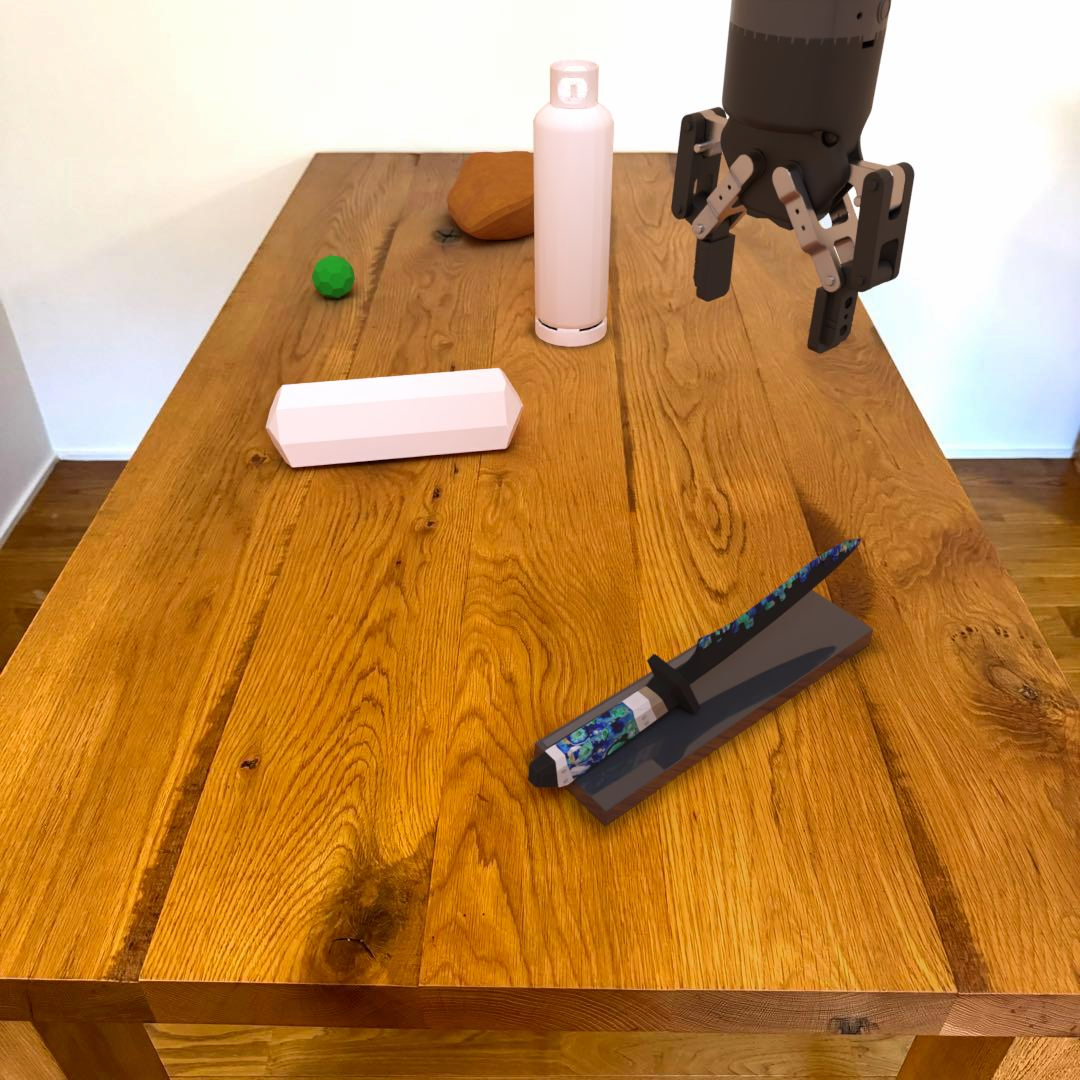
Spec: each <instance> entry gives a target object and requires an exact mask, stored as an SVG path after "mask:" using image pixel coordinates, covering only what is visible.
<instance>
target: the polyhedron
mask: <svg viewBox="0 0 1080 1080" xmlns="http://www.w3.org/2000/svg"><path fill="white" fill-rule="evenodd" d="M311 279H312V283H313V286H314V288H315V290H316V291H317V292H318V293H319V294H321V295H322V296H323V297H326V298H329V299H336V300H337V299H340V298H342V297H344V296H345V295H347V294H348V293H350V292H351V291H352V288H353V286H354V283H355V280H356V276H355V271H354V268H353V266H352V264H351V263H350V262H349V261H348V260H347V259H346V258H344V257H342V256H339V255H331V254H329V255H327V256H324V257H323V258H321V259H319V260H318V261H317V262H316V263H315V266H314V268H313V271H312V274H311Z"/></svg>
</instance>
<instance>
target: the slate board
mask: <svg viewBox="0 0 1080 1080" xmlns="http://www.w3.org/2000/svg"><path fill="white" fill-rule="evenodd" d="M873 633H874V628H873V627H871V626H869V624H867V623H865V622H863V621H862V620H860V619H859V618H857V617H855V616H854V615H852V614H851V613H849V612H847V611H846V610H845V609H843V608H842V607H840V606H838V605H836V604H835V603H834V602H832V601H831V600H829V599H828V598H826V597H824V596H823V595H821V594H819V593H818V592H817V591H815V590H813V589H812V590H811V591H810V592H809V593H808V594H806V595H805V596H804V597H803V598H802V599H801V600H799V601H798V602H797V603H796V604H795V605H793V606H792V607H791V608H790V609H789V610H787V611H786V612H785V613H784V614H782V615H781V616H780V617H779V618H778V619H776V620H775V621H774V622H773V623H771V624H770V625H769V626H768V627H766V628H765V629H764V630H762V631H761V632H760V633H759V634H757V635H756V636H755V637H753V638H752V639H751V640H749V641H748V642H747V643H746V644H744V645H743V646H742V647H740V648H739V649H738V650H737V651H735V652H734V653H733V654H731V655H730V656H729V657H728V658H726V659H725V660H724V661H722V662H721V663H719V664H718V665H717V666H715V667H714V668H713V669H711V670H710V671H708V672H707V673H706V674H704V675H703V676H701V677H700V678H699V679H697V680H696V681H695V682H693V683H692V684H690V687H691V689H692V691H693V693H694V695H695V697H696V699H697V701H698V703H699V705H700V707H701V708H700V709H699V710H698V711H697V713H696V714H693V713H692V712H690V711H689V710H687V709H686V708H684V707H682V706H681V705H679V704H678V705H677V706H675V707H674V708H672V709H671V710H669V711H668V712H666V713H665V714H664V715H662V716H661V717H659V718H658V719H657V720H655V721H654V722H653V723H651V724H650V725H649V726H647V727H646V728H644V729H643V730H642V731H640V732H639V733H638V734H636V735H635V736H634V737H632V738H631V739H629V740H628V741H627V742H625V743H624V744H623V745H621V746H620V747H619V748H617V749H616V750H614V751H613V752H612V753H610V754H609V755H608V756H606V757H605V758H604V759H602V760H601V761H599V762H598V763H597V764H595V765H594V766H593V767H591V768H590V769H589V770H587V771H586V772H584V773H583V774H582V775H580V776H579V777H578V778H576V779H575V780H574V781H572V782H571V783H569V784H568V785H566V786H564V788H565V789H566V790H567V791H568V792H569V793H571V794H572V796H574V797H575V798H576V800H577V801H579V802H580V803H581V804H582V805H583V807H585V808H586V809H587V811H589V812H590V813H591V814H592V815H593V816H594V817H595V818H596V819H597V820H598V821H599V822H600V823H601V824H602V825H603V826H605V827H606V826H608V825H609V824H611V823H612V822H614V821H615V820H616V819H618V818H619V817H621V816H623V815H624V814H625V813H626V812H628V811H630V810H632V808H634V807H636V806H637V805H638V804H640V803H641V802H643V801H644V800H646V799H647V798H648V797H650V796H651V795H653V794H654V793H656V792H657V791H659V790H660V789H661V788H663V787H665V786H666V785H667V784H669V783H670V782H672V781H673V780H675V779H676V778H677V777H679V776H680V775H682V774H683V773H685V772H686V771H688V770H689V769H691V768H692V767H693V766H694V765H696V764H697V763H699V762H701V761H702V760H704V758H706V757H708V756H710V754H713V752H715V751H717V750H718V749H719V748H721V747H722V746H724V745H725V744H727V743H728V742H730V741H731V740H733V739H734V738H735V737H737V736H738V735H740V734H742V732H745V730H748V728H750V727H751V726H753V725H754V724H756V723H757V722H759V721H760V720H762V719H763V718H765V717H766V716H768V715H769V714H770V713H772V712H773V711H775V710H776V709H778V708H779V707H780V706H782V705H784V704H785V703H786V702H788V701H789V700H790V699H792V698H793V697H795V696H796V695H798V694H799V693H801V692H802V691H804V690H805V689H806V688H808V687H810V686H811V685H812V684H814V683H815V682H817V681H818V680H819V679H821V678H823V677H824V676H826V674H828V673H830V672H831V671H832V670H834V669H835V668H837V667H838V666H841V664H843V663H844V662H846V661H847V660H848V659H850V658H851V657H853V656H854V655H856V654H858V653H859V652H860V651H861V650H863V649H865V648H867V646H869V645H870V644H871V641H872V638H873V637H872V636H873ZM696 647H697V643H696V644H694V645H692V646H691V647H689V648H688V649H686V650H684V651H683V652H681V653H679V654H678V655H676V656H675V657H673V658H671V659H669V660H668V661H665V662H666V663H667V664H669V665H670V666H671V667H672V668H674V669H677V668H679V667H681V666H682V665H683V664H685V663H686V662H687V661H688V660H689V659H690V658H691V656H692V655H693V654H694V652H695V650H696ZM653 676H654V675H653V673H652V671H650V672H648V673H646V674H645V675H643V676H641V677H640V678H639V679H637V680H635V681H634V682H631V683H630V684H629V685H627V686H625V687H624V688H622V689H620V690H619V691H617V692H616V693H614V694H612V695H611V696H609V697H607V698H605V699H604V700H602V701H601V702H599V703H598V704H596V705H594V706H592V707H591V708H589V709H588V710H586V711H584V712H582V713H581V714H579V715H577V716H576V717H574V718H573V719H571V720H569V721H568V722H566V723H565V724H563V725H561V726H560V727H558V728H556V729H555V730H553V731H552V732H550V733H548V734H547V735H545V736H543V737H541V738H540V739H539V740H536V741H535V742H534V759H535V758H537V757H538V756H540V755H541V754H542V753H543V752H544V751H546V750H547V749H549V748H550V747H552V746H553V745H555V744H557V743H558V742H560V741H561V740H563V739H565V738H566V737H568V736H569V735H571V734H572V733H574V732H575V731H577V730H579V729H580V728H582V727H583V726H585V725H586V724H588V723H590V722H591V721H593V720H594V719H596V718H597V717H599V716H600V715H602V714H603V713H605V712H606V711H608V710H609V709H611V708H612V707H614V706H615V705H617V704H619V703H620V702H622V701H623V700H625V699H626V698H628V697H629V696H631V695H632V694H634V693H636V692H637V691H639V690H640V689H642V688H643V687H644V686H645V685H646V684H647V683H648V682H649V680H650V679H651V678H652V677H653Z"/></svg>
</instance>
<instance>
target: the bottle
mask: <svg viewBox="0 0 1080 1080" xmlns="http://www.w3.org/2000/svg"><path fill="white" fill-rule="evenodd" d="M568 67H583V68H585V69H586V70H579V71H577V70H576V71H575V70H574V71H573V70H572V71H571V70H565V69H567V68H568ZM599 68H600V65H599V63H597V62H595V61H591V60H585V59H563V60H557V61H554V62H551V63H550V65H549V102H547V103H546V104H544V105H543V106H541V108H539V110H538V111H537V112H535V115H534V118H533V120H532V126H533V127H532V129H533V133H532V136H533V141H532V142H533V156H534V232H533V234H534V236H533V237H534V238H533V239H534V240H533V242H534V244H533V245H534V246H533V247H534V248H533V249H534V253H533V254H534V310H535V315H534V329H535V331H534V332H535V335H536V336H537V337H538V338H539V339H540V340H541V341H543V342H545V343H546V344H551V345H554V346H558V347H567V348H568V347H571V348H572V347H584V346H589V345H592V344H594V343H597V342H599V341H600V340H602V339H603V338H604V337H605V336H606V334H607V330H608V329H607V327H608V318H607V312H608V305H609V304H608V303H609V301H608V298H609V273H610V272H609V271H610V244H611V218H612V194H613V193H612V191H613V190H612V189H613V188H612V187H613V166H614V165H613V164H614V163H613V160H614V139H615V138H614V134H615V121H614V119H613V116H612V112H611V111H610V110H609V109H608V108H607V107H606V106H605V105H603V104H602V103H600V102H599V72H600V69H599ZM564 78H567V79H583V80H584V82H585V83H586V88H585V89H584V90H578V86H579V85H580V82H579V83H578V82H576V81H575V82H573V81H572V82H569V83H568V85H569V86H570V90H568V89H566V88H565V87H564V86H563V83H562V79H564ZM546 325H547V326H548V327H547V326H546ZM594 326H596V327H594ZM550 327H551V328H550ZM553 328H554V329H553ZM588 328H590V329H588ZM583 329H584V330H583ZM585 329H586V330H585Z"/></svg>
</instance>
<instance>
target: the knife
mask: <svg viewBox="0 0 1080 1080" xmlns="http://www.w3.org/2000/svg"><path fill="white" fill-rule="evenodd" d="M861 542H862V538H861V537H860V538H852V539H849V540H846V541H844V542H840V543H839V544H837V545H835V546H833V547H832V548H830V549H828V550H826V551H825V552H823V553H821V554H820V555H818V556H816V558H814V559H812V560H811V561H810V562H808V563H807V564H805V566H803V567H802V568H800V570H797V572H795V573H794V574H793V575H792V576H790V577H789V578H788V579H787V580H786V581H784V582H783V583H781V584H780V585H779V586H778V587H777V588H776V589H774V590H773V591H772V592H770V593H769V594H768V595H767V596H765V597H764V598H763V599H761V600H760V601H758V602H757V603H756V604H755V605H754V606H752V607H751V608H749V609H748V610H746V611H745V612H744V613H743V614H741V615H740V616H738V617H737V618H736V619H734V620H733V621H731V622H730V623H727V624H726V625H724V626H722V627H720V628H719V629H716V630H715V631H713V632H710V633H708V634H706V635H704V636H702V637H699V638H697V640H696V644H697V647H696V650H695V652H694V654H693V655H692V656H691V658H690V659H689V660H688V661H687V662H686V663H685V664H683V665H682V666H681V667H679V668H677V669H674V668H672V667H671V666H670V665H669V664H667V663H666V662H667V661H665V660H663V659H662V658H661V657H660V656H658V655H657V654H656V653H652V655H651V656H650V657H649V658H648V659H647V660H646V662H647V664H648V667H649V669H650V672H652V673H653V675H654V676H653V677H652V678H651V679H650V680H649V682H648V683H647V684H646V685H645V686H644V687H643V688H642V689H640V690H639V691H637V692H636V693H634V694H632V695H631V696H629V697H628V698H626V699H625V700H623V701H622V702H620V703H619V704H617V705H615V706H614V707H612V708H611V709H609V710H608V711H606V712H605V713H603V714H602V715H600V716H599V717H597V718H596V719H594V720H593V721H591V722H590V723H588V724H586V725H585V726H583V727H582V728H580V729H579V730H577V731H575V732H574V733H572V734H571V735H569V736H568V737H566V738H565V739H563V740H561V741H560V742H558V743H557V744H555V745H553V746H552V747H550V748H549V749H547V750H546V751H544V752H543V753H542V754H541V755H540V756H538V757H537V758H535V757H534V759H533V760H531V761H530V762H529V764H528V773H527V781H528V782H529V783H530V784H531V785H532V786H533V787H534V788H538V789H541V788H544V789H545V788H546V789H547V788H563V787H565V786H566V785H568V784H569V783H571V782H572V781H574V780H575V779H576V778H578V777H579V776H580V775H582V774H583V773H584V772H586V771H587V770H589V769H590V768H591V767H593V766H594V765H595V764H597V763H598V762H599V761H601V760H602V759H604V758H605V757H606V756H608V755H609V754H610V753H612V752H613V751H614V750H616V749H617V748H619V747H620V746H621V745H623V744H624V743H625V742H627V741H628V740H629V739H631V738H632V737H634V736H635V735H636V734H638V733H639V732H640V731H642V730H643V729H644V728H646V727H647V726H649V725H650V724H651V723H653V722H654V721H655V720H657V719H658V718H659V717H661V716H662V715H664V714H665V713H666V712H668V711H669V710H671V709H672V708H674V707H675V706H677V705H678V704H679V705H681V706H682V707H684V708H686V709H687V710H689V711H690V712H692V713H693V714H696V713H697V711H698V710H699V709H700V708H701V707H700V705H699V703H698V701H697V699H696V697H695V695H694V693H693V691H692V689H691V687H690V684H692V683H693V682H695V681H696V680H697V679H699V678H700V677H701V676H703V675H704V674H706V673H707V672H708V671H710V670H711V669H713V668H714V667H715V666H717V665H718V664H719V663H721V662H722V661H724V660H725V659H726V658H728V657H729V656H730V655H731V654H733V653H734V652H735V651H737V650H738V649H739V648H740V647H742V646H743V645H744V644H746V643H747V642H748V641H749V640H751V639H752V638H753V637H755V636H756V635H757V634H759V633H760V632H761V631H762V630H764V629H765V628H766V627H768V626H769V625H770V624H771V623H773V622H774V621H775V620H776V619H778V618H779V617H780V616H781V615H782V614H784V613H785V612H786V611H787V610H789V609H790V608H791V607H792V606H793V605H795V604H796V603H797V602H798V601H799V600H801V599H802V598H803V597H804V596H805V595H806V594H808V593H809V592H810V591H811V590H813V589H815V588H816V587H817V586H818V585H820V584H821V583H822V582H823V581H824V580H825V579H826V578H828V576H829V575H831V574H832V573H833V572H834V571H835V570H836V569H837V568H839V567H840V566H841V565H842V563H844V562H845V560H846V559H848V557H849V556H851V555H852V553H853V552H855V550H856V549H857V548H858V547H859V545H860V544H861Z"/></svg>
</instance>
